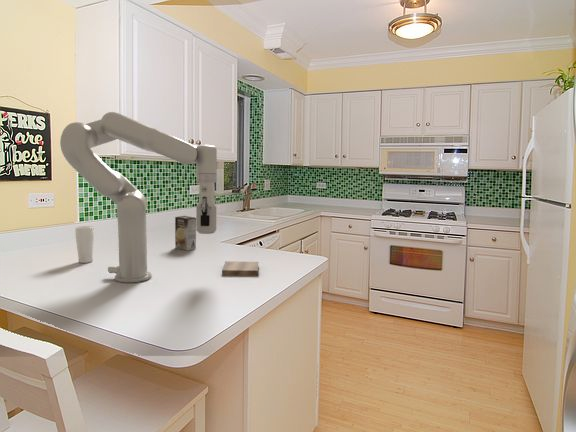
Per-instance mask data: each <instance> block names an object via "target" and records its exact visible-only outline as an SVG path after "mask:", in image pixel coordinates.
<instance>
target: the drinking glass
mask: <svg viewBox="0 0 576 432" xmlns="http://www.w3.org/2000/svg"><path fill="white" fill-rule="evenodd" d="M75 241H76V242H75V243H76V249H77V257H78V262H79V263H80V264H89V263H92V262H93V260H94V241H95V231H94V226H92V225H80V226H76V227H75Z"/></svg>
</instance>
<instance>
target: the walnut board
mask: <svg viewBox="0 0 576 432" xmlns="http://www.w3.org/2000/svg"><path fill="white" fill-rule="evenodd" d="M221 276H251V277H252V276H254V277H255V276H259V261H229V260H228V261H227V260H226V261H224V264H223V267H222V270H221Z"/></svg>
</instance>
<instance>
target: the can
mask: <svg viewBox="0 0 576 432" xmlns="http://www.w3.org/2000/svg"><path fill="white" fill-rule="evenodd" d="M206 202H207V201H206ZM197 203H198V204H197V205H196V209H195V210H196V211H195V212H196V213H195V215H196V217H195V218H196V232H197V233H198V234H200V235H201V234H202V235H211V234H214V233H215V232H216V231H217V204H216V201H215V202H214V203H215V204H214V205H213V208H212V209H211V207H209V226H201V208H200V207H199V201H198V202H197ZM201 206H202V204H201ZM206 207H208V206H206Z"/></svg>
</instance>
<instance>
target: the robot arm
mask: <svg viewBox="0 0 576 432" xmlns="http://www.w3.org/2000/svg"><path fill="white" fill-rule="evenodd" d="M116 140H119V141H120V142H124V143H126V144H129V145H131V146H134V147H136V148H138V149H141V150H144V151H146V152H151V153H156V154H158V155H160V156H164V157H166V158H169V159H170V160H173V161H175V162H178V163H180V164H182V165H190V164H195V165H196V166H195V167H196V181H195V182H196V183H198V185H199V186H198V202H199V203H198V204H199V207H200V208H201V226H209V207H211V209H212V208H213V205H214V204H215V205H216V195H215V194H216V191H215V189H216V188H215V187H216V186H215V183H217V180H218V179H217V178H218V176H217V174H218V173H217V170H218V169H217V167H218V166H217V164H218V163H217V162H218V161H217V159H218V158H217V157H218V156H217V155H218V154H217V153H218V151H217V147H216V146H215V145H211V144H210V145H209V144H200V145H194V144H191V143H189V142H187V141H184V140H183V139H180V138H178V137H176V136H172V135H170V134H168V133H165V132H162V131H160V130H158V129H156V128H155V127H152V126H150V125H148V124H146V123H145V124H144V123H143V122H139V121H137V120H136V119H133V118H130V117H128V116H126V115H123V114H120V113H118V112H115V111H108V112H106V113H105V114H103V115H102V117H101V119H98V120H94V121H92V122H89V123H84V122H78V121H77V122H76V121H75V122H71V123H69V124H68V125H66V126H65V127H64V128H63V130H62V133H61V136H60V141H59V143H60V149H61V153H62V155H63V157H64V159H65V160H66V161H67V163H68V164H69V165H70V166H71V167H72V168H73V169H74V170H75V171H76V172H77V173H78V174H79V175H80V176H81V177H82V178H83V180H85V181H86V182H87V183H88V184H89V185H91V187H93V188H94V189H95V191H96V192H98V194H100V195H101V196H103V197H106V198H109V199H110V200H111V201H112V202H113V203H114V204H115V205H116V217H117V218H116V219H117V235H118V266H108V267H107V272H108V273H109V274H115V275H114V280H115V281H116V282H118V283H127V284H130V283H139V282H145V281H147V280H149V279H151V278H152V272H150V271H148V256H147V255H148V250H147V248H148V247H147V243H148V242H147V205H148V202H147V198H146V196H145V195H144V194H143V193H142V192H141V191H140V190H139V189H138V188H137V187H136V186H135V185H133V183H131V181H129V180H128V178H126V176H124V175H123V174H122V173H120V172H119V171H116V170H114V169H112V168H111V167H109V166H108V165H107V164H106V163H105V162H104V161H103V160H102V159H101V158H100V157H99V156H98V155H97V154H95V152H94V151H93V150H92V148H95V147H98V146H102V145H105V144H108V143H111V142H113V141H116ZM206 201H207V202H206ZM214 202H215V203H214ZM201 204H202V206H201ZM206 206H208V207H206Z"/></svg>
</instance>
